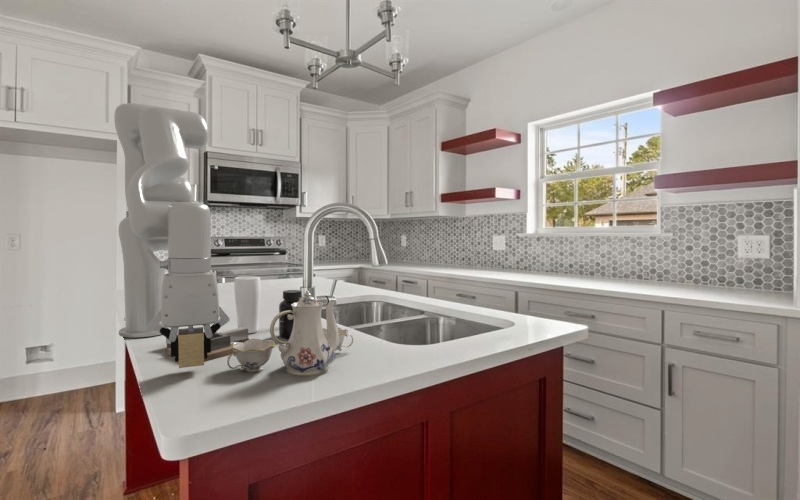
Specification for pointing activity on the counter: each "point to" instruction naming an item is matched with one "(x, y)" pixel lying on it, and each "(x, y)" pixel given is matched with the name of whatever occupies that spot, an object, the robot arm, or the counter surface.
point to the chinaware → (297, 341)
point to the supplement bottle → (285, 305)
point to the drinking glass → (247, 302)
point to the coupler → (191, 347)
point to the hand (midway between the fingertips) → (191, 357)
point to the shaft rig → (221, 342)
